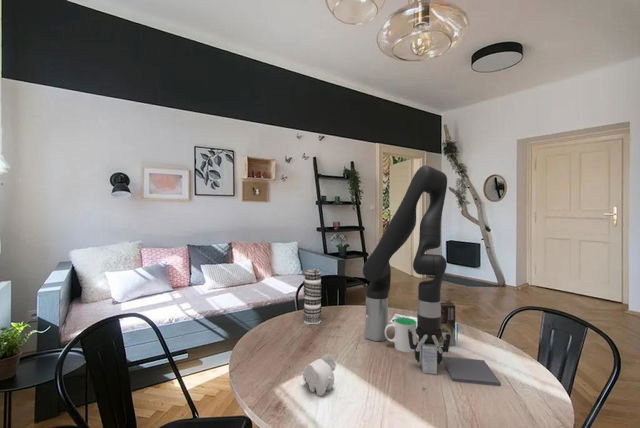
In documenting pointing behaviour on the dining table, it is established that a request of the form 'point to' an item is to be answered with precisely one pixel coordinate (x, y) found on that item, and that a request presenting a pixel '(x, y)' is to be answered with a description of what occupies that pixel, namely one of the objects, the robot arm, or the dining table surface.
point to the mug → (402, 333)
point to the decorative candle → (312, 296)
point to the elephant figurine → (320, 374)
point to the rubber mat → (470, 371)
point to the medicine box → (428, 358)
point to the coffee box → (447, 321)
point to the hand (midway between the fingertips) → (428, 361)
